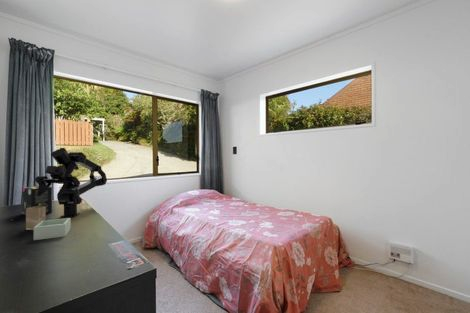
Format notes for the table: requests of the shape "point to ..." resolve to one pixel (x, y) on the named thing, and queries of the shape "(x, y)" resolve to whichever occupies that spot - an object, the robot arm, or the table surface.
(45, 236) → the pale green open tray
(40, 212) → the tan upright block
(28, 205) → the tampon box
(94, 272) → the table surface
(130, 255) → the table surface
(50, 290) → the table surface
